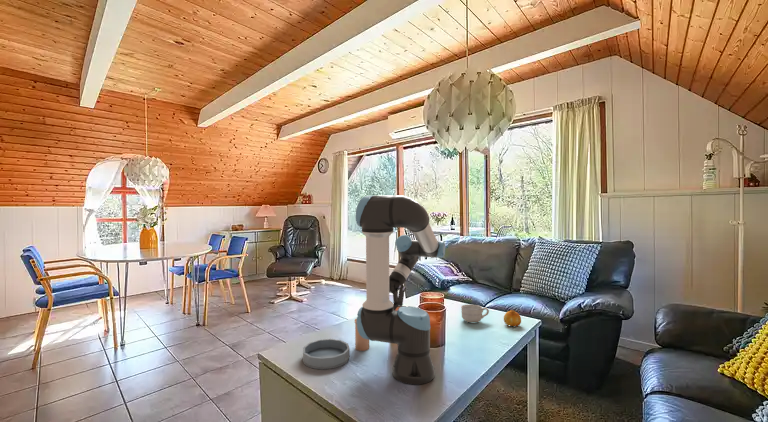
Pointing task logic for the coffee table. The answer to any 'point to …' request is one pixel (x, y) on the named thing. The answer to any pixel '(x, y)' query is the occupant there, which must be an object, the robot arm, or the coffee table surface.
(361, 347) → the terracotta jar
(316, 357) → the slate bowl
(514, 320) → the fruit
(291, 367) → the coffee table surface
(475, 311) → the teacup
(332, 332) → the coffee table surface
